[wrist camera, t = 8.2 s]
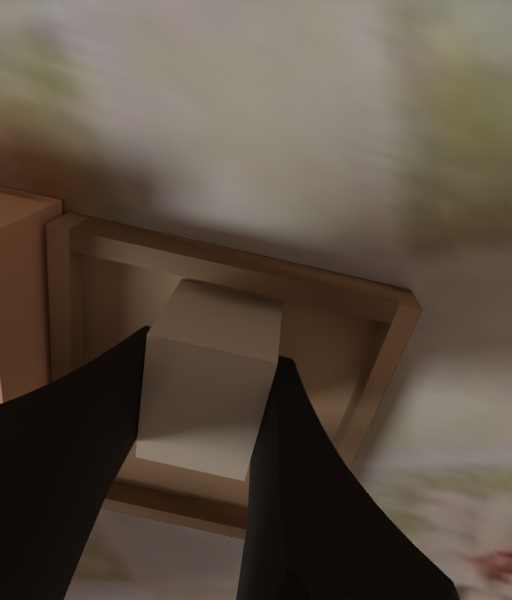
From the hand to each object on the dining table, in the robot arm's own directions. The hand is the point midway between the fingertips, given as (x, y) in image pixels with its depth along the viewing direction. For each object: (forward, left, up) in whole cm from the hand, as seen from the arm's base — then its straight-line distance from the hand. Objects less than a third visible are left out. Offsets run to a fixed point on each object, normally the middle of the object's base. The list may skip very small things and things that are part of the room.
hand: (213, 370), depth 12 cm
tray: (-2, 0, -2) cm, 3 cm away
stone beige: (0, 0, -1) cm, 1 cm away
